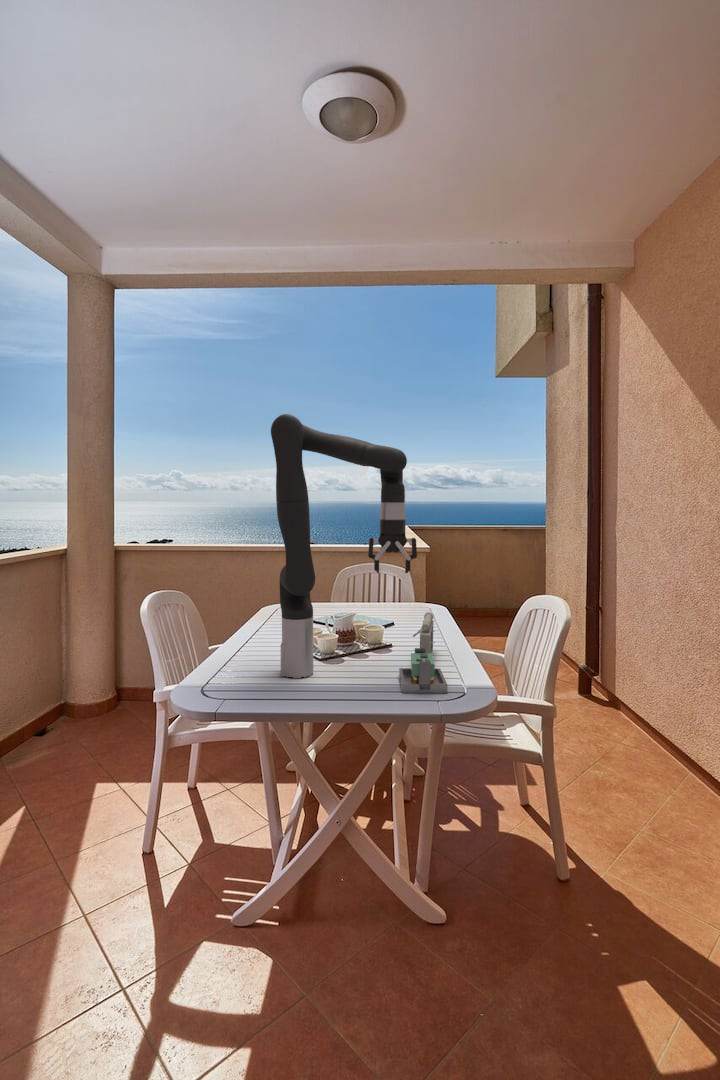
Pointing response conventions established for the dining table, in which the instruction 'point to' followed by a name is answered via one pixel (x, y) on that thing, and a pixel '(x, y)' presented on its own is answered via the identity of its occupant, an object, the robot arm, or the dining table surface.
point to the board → (421, 657)
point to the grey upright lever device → (427, 633)
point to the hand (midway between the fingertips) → (392, 572)
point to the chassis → (423, 679)
